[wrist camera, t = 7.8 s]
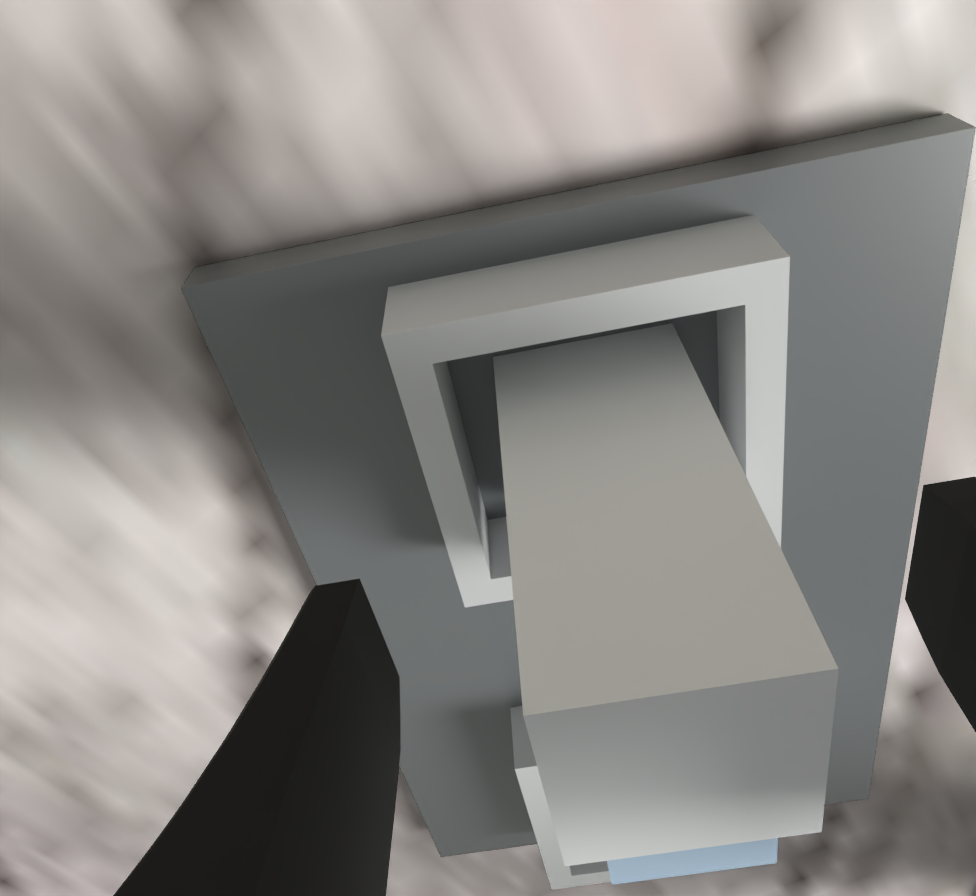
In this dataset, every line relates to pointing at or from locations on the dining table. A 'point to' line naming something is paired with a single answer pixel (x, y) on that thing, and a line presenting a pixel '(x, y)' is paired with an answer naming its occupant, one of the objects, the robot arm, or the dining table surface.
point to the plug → (654, 617)
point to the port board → (579, 316)
